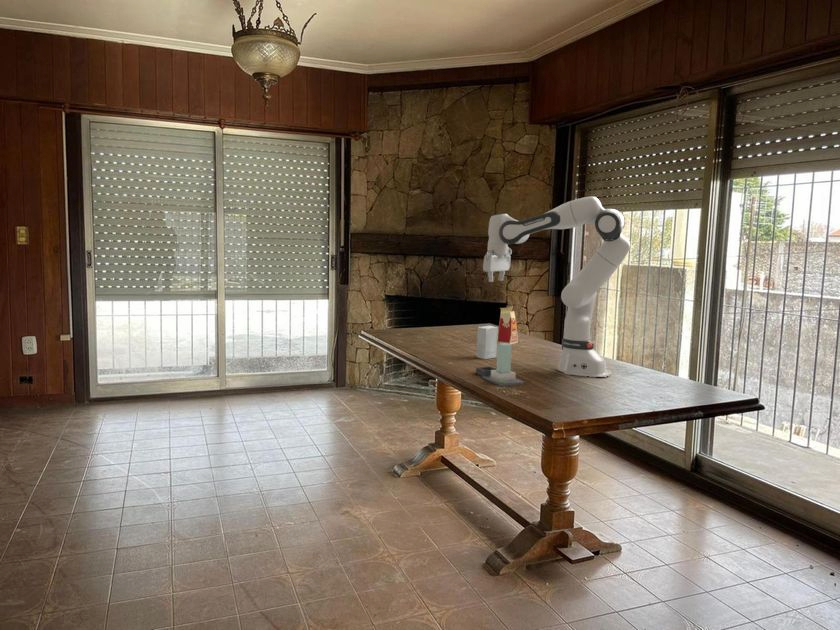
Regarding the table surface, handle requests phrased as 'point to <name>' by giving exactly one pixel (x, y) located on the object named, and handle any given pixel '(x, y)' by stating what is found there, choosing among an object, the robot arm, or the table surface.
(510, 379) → the port panel
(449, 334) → the table surface
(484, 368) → the holster
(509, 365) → the plug
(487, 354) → the skincare box
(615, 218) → the robot arm
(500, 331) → the milk carton
